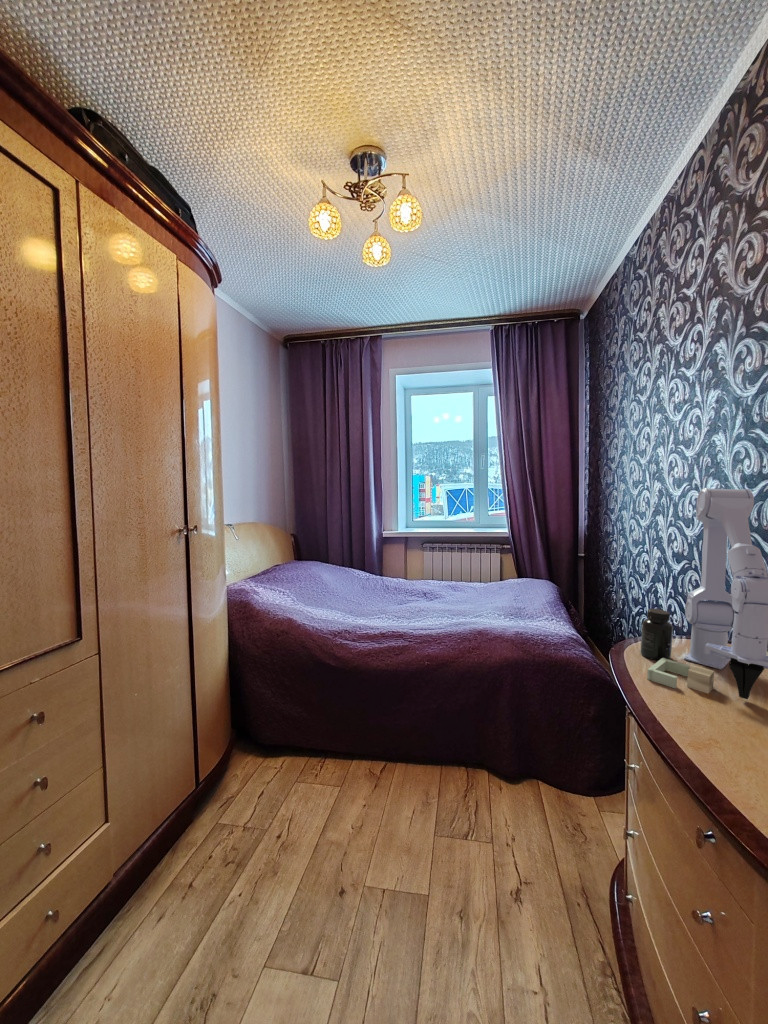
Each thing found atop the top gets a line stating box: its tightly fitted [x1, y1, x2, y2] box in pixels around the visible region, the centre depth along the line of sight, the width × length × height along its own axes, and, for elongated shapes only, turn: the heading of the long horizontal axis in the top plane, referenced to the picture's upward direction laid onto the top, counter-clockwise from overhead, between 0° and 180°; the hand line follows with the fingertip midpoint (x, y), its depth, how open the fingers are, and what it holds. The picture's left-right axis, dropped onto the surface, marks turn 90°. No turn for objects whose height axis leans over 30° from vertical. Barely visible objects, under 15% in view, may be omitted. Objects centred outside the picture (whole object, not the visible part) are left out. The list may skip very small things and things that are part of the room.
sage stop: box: [646, 658, 690, 689], centre depth 104 cm, size 10×6×2 cm, turn 131°
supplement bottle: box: [640, 608, 674, 662], centre depth 116 cm, size 7×7×12 cm
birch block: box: [686, 664, 715, 695], centre depth 100 cm, size 4×4×4 cm
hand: (744, 696), depth 94 cm, fingers closed
